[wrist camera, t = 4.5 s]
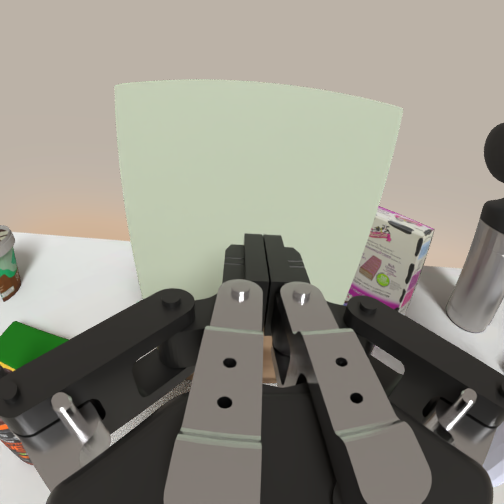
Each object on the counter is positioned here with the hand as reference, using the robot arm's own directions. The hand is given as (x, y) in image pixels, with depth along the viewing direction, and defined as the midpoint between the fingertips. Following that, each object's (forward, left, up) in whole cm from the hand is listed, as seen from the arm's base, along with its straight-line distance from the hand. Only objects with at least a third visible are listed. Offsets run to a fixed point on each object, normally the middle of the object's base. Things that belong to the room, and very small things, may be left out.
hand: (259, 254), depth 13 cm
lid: (0, -8, -1) cm, 8 cm away
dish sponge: (+25, -8, -22) cm, 34 cm away
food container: (+41, -23, -21) cm, 52 cm away
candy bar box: (-18, -20, -21) cm, 34 cm away
